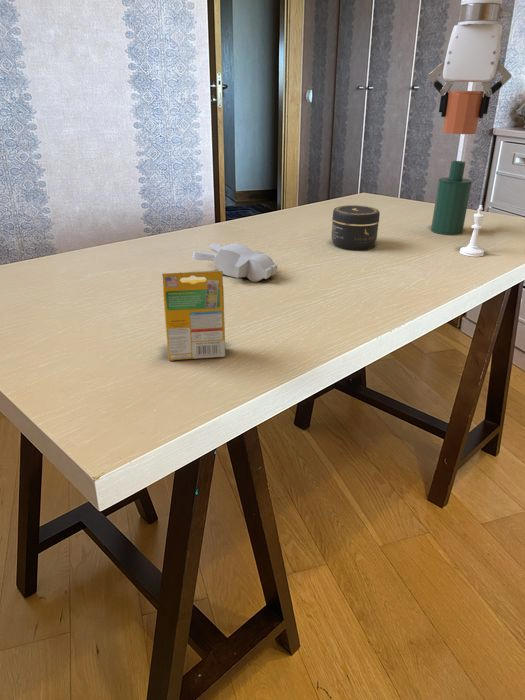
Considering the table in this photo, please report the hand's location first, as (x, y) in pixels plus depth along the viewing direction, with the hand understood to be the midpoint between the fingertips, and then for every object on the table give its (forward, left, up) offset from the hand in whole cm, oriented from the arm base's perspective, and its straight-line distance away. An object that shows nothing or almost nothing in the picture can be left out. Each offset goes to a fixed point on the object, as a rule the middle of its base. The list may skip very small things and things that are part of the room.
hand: (462, 116), depth 111 cm
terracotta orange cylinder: (0, 0, -3) cm, 3 cm away
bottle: (0, -7, -26) cm, 27 cm away
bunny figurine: (+31, +44, -26) cm, 60 cm away
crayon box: (+21, +75, -26) cm, 82 cm away
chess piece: (-8, +10, -26) cm, 29 cm away
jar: (+17, +15, -26) cm, 34 cm away
